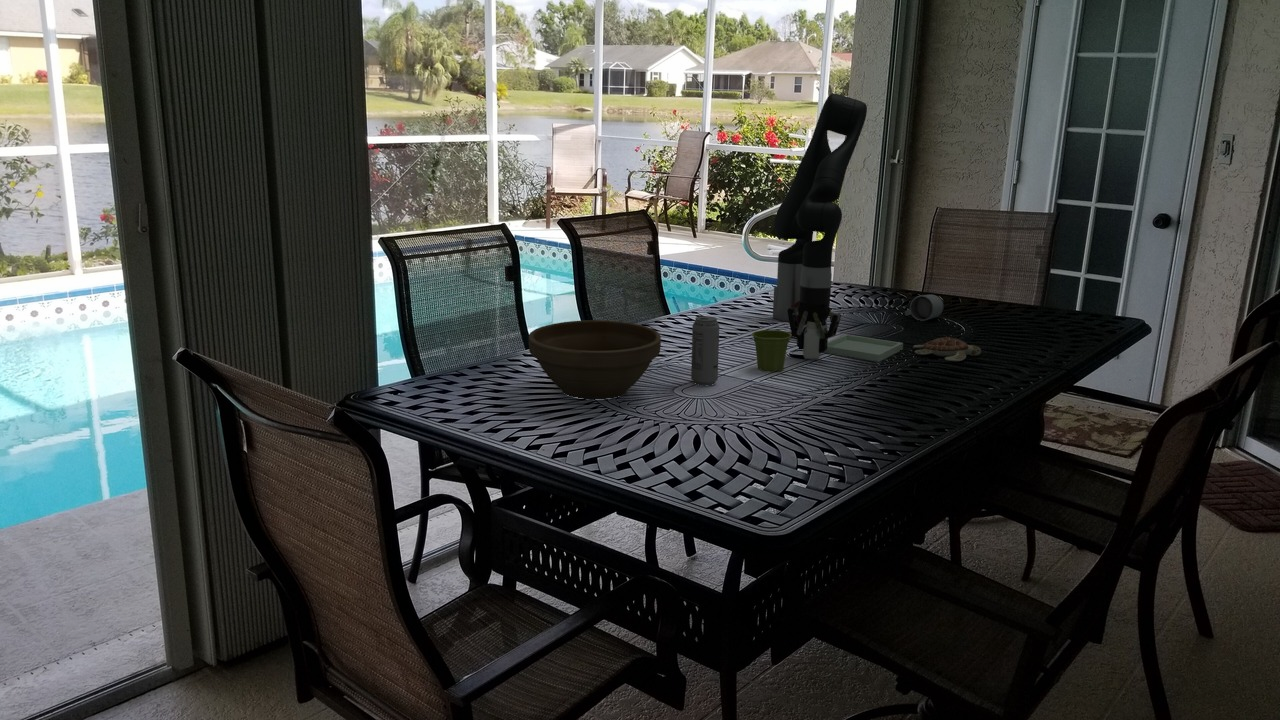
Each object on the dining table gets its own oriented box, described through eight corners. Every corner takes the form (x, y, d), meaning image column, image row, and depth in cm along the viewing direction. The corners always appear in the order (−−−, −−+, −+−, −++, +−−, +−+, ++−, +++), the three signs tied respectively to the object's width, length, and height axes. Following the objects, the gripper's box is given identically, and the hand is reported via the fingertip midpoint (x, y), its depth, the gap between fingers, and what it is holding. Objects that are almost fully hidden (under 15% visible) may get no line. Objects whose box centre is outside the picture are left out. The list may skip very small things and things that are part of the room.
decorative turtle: (985, 367, 231) (987, 347, 230) (916, 363, 234) (917, 343, 233) (975, 349, 248) (977, 331, 247) (910, 346, 252) (912, 328, 250)
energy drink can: (720, 386, 211) (722, 320, 207) (694, 387, 210) (696, 321, 206) (714, 378, 217) (716, 315, 213) (688, 379, 216) (690, 316, 212)
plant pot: (746, 372, 223) (747, 336, 221) (755, 362, 232) (757, 328, 229) (785, 376, 220) (787, 340, 218) (793, 366, 228) (795, 331, 226)
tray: (819, 352, 243) (820, 345, 242) (845, 340, 255) (846, 334, 255) (878, 361, 233) (879, 354, 233) (902, 349, 246) (903, 343, 245)
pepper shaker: (802, 355, 239) (804, 319, 236) (818, 356, 238) (820, 319, 236) (803, 359, 235) (805, 322, 232) (820, 360, 234) (822, 323, 232)
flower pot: (677, 405, 196) (678, 344, 193) (543, 416, 189) (542, 353, 185) (638, 371, 223) (639, 317, 219) (519, 379, 215) (518, 323, 212)
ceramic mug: (944, 318, 285) (946, 293, 283) (932, 322, 279) (934, 297, 277) (911, 314, 291) (913, 289, 290) (899, 318, 286) (900, 293, 284)
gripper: (782, 283, 233) (779, 349, 237) (836, 289, 225) (831, 358, 229) (796, 279, 239) (793, 344, 243) (849, 285, 231) (844, 352, 235)
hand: (811, 350), depth 236 cm, fingers closed on pepper shaker, 5 cm apart
